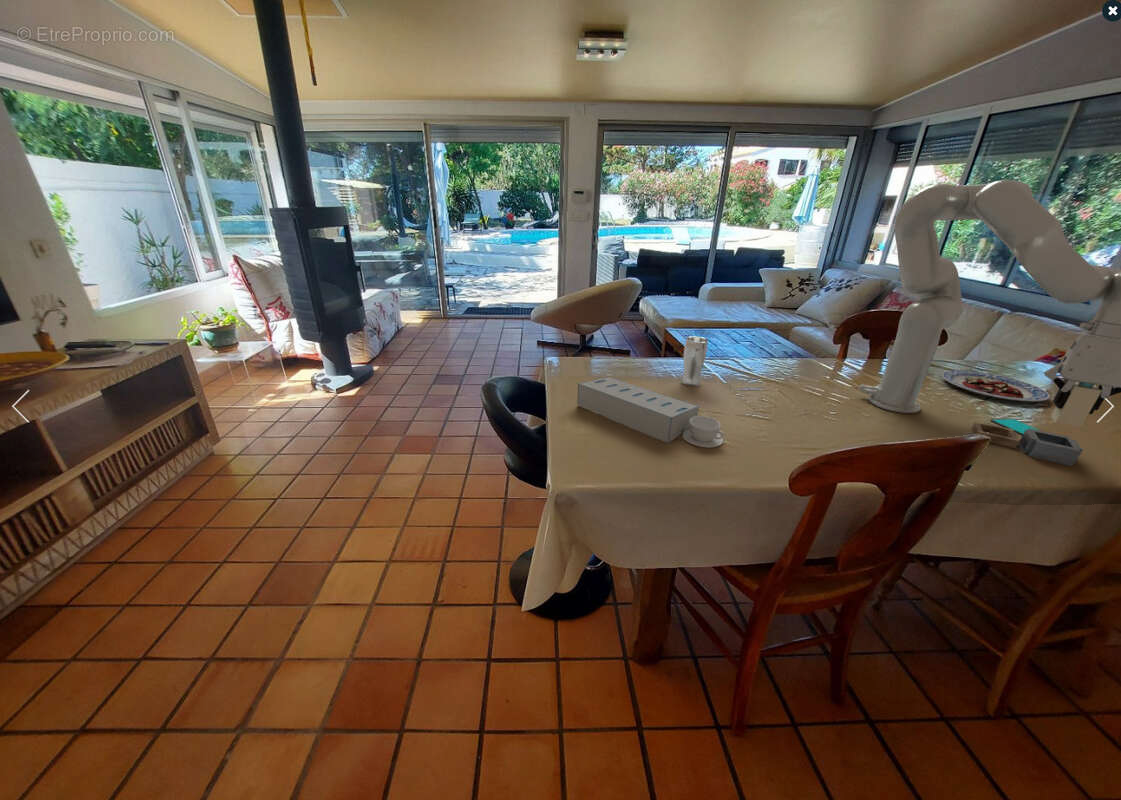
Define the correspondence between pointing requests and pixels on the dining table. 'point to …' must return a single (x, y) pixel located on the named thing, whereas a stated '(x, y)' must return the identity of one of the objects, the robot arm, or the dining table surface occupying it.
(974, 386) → the ceramic plate
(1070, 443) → the socket
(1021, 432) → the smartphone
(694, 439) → the teacup
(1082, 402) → the plug
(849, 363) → the dining table surface
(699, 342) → the beer glass
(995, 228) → the robot arm
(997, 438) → the holster
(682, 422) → the slotted grey box
